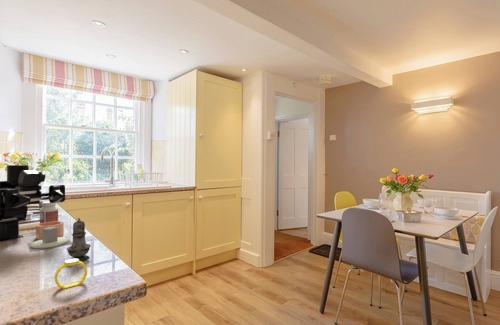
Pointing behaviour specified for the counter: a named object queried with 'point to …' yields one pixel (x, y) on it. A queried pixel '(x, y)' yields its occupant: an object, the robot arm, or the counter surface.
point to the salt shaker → (79, 242)
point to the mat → (47, 248)
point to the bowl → (49, 224)
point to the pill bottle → (48, 212)
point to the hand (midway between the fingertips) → (47, 197)
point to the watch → (69, 263)
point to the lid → (49, 239)
